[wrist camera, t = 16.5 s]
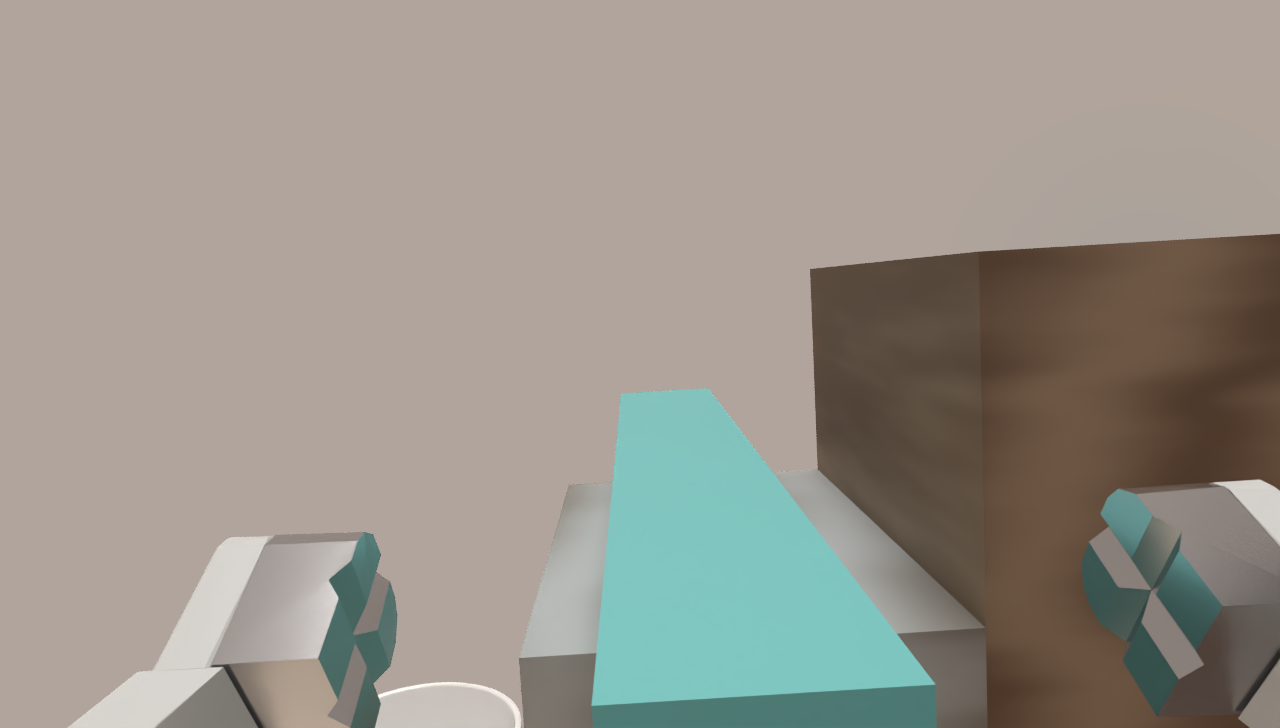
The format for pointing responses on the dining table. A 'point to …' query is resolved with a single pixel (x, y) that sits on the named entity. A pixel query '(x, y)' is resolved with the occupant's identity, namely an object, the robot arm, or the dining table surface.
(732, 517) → the teal bar
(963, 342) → the stand
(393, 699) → the white cup
